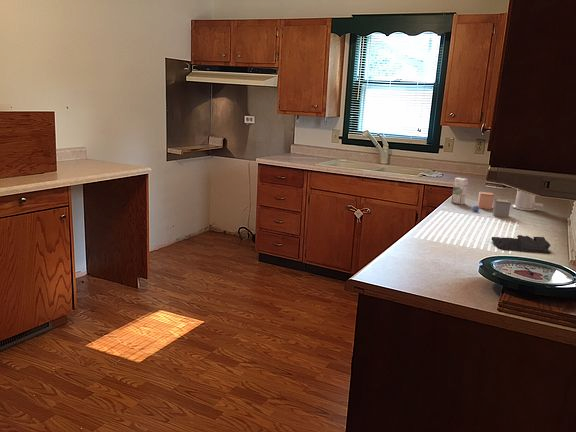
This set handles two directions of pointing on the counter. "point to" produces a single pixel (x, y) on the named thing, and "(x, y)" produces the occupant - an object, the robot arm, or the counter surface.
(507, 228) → the counter surface
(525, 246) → the dark slate chunk
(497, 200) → the gray block
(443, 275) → the counter surface
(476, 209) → the marble
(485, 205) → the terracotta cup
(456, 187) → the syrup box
